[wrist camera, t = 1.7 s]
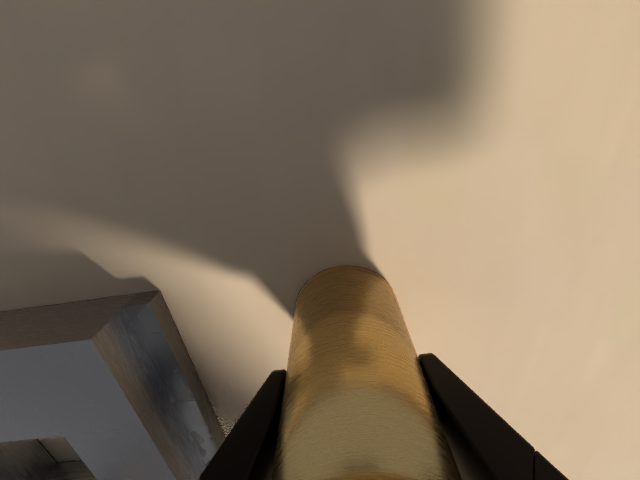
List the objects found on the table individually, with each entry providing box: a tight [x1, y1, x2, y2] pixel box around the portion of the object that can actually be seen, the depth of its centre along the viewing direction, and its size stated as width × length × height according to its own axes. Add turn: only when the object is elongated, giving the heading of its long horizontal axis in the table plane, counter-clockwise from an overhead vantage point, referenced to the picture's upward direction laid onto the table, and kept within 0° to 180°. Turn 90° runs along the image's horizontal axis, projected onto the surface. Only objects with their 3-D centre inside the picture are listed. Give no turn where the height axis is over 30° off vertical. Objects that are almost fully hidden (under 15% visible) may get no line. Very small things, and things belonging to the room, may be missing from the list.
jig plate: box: [0, 291, 226, 480], centre depth 14 cm, size 14×14×2 cm
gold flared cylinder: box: [272, 266, 462, 480], centre depth 9 cm, size 5×5×8 cm
